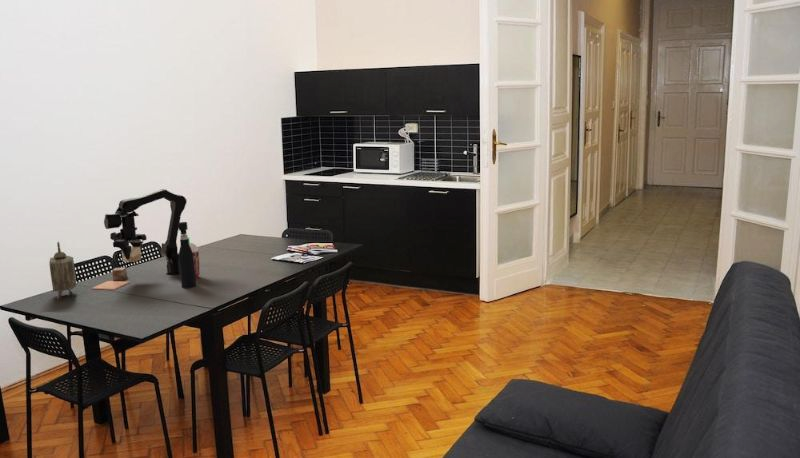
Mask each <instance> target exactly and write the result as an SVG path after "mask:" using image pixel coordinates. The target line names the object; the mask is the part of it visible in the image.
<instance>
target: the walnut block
mask: <svg viewBox="0 0 800 458" xmlns="http://www.w3.org/2000/svg"><path fill="white" fill-rule="evenodd" d="M111 273H112V274H111V275H112V279H113V280H112V281H124V280H126V279H127V278H128V272H127V267H115V268H113V269H112V270H111ZM126 277H127V278H126Z"/></svg>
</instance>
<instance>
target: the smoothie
mask: <svg viewBox="0 0 800 458" xmlns="http://www.w3.org/2000/svg"><path fill="white" fill-rule="evenodd" d="M188 239H189V245H190V248H191V250H192V253H193V258H194V268H195V278H196V279H198V278H199V277H200V273H201V272H200V271H201V270H200V249H199V248H198V246H197V245H196V244H194V243H193V242H190V241H191V240H190V237H188Z"/></svg>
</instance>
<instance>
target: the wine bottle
mask: <svg viewBox="0 0 800 458" xmlns="http://www.w3.org/2000/svg"><path fill="white" fill-rule="evenodd" d="M178 226H179V229H178V231H180V239H179V242H180V246H179V251H178V254H179V263H180V280H181V287H182V288H183V289H191V288H194V287H196V286H197V280H196V279H197V278H195V268H194V258H193V253H192V250H191V248H190V245H189V239H190V238H189V236H188V234H187V233H188V232H187V230H189V229H188V222H187V221H180V223H178ZM188 238H189V239H188Z"/></svg>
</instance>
